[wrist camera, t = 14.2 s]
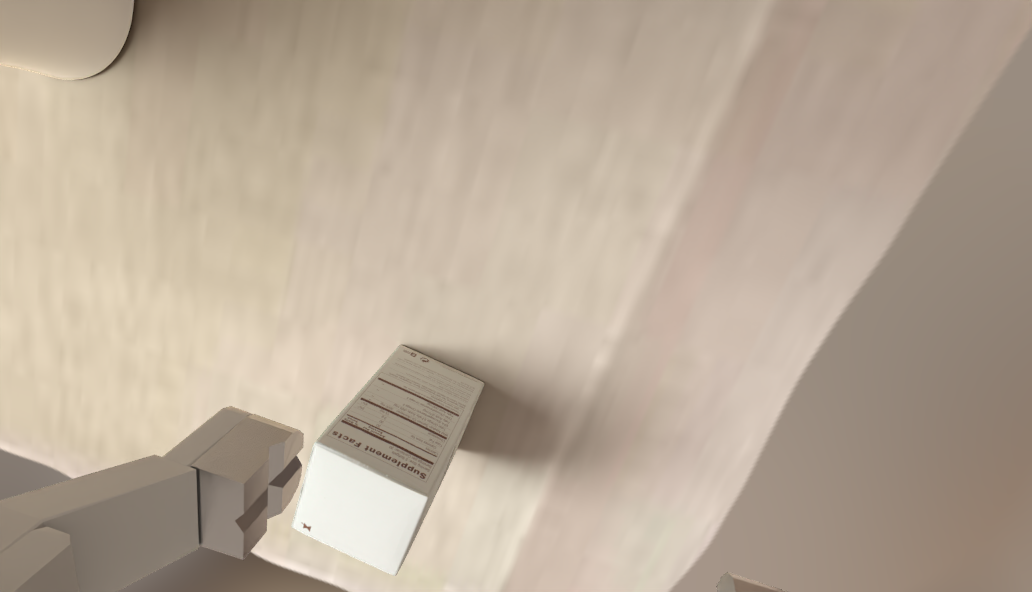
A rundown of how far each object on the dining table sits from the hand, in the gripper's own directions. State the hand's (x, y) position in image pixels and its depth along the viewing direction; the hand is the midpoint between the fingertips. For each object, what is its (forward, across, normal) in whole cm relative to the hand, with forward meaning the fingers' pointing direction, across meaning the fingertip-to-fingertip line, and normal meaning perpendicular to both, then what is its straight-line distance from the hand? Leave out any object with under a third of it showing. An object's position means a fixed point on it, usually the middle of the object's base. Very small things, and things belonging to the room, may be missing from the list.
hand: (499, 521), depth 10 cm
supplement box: (+27, +9, +18) cm, 34 cm away
